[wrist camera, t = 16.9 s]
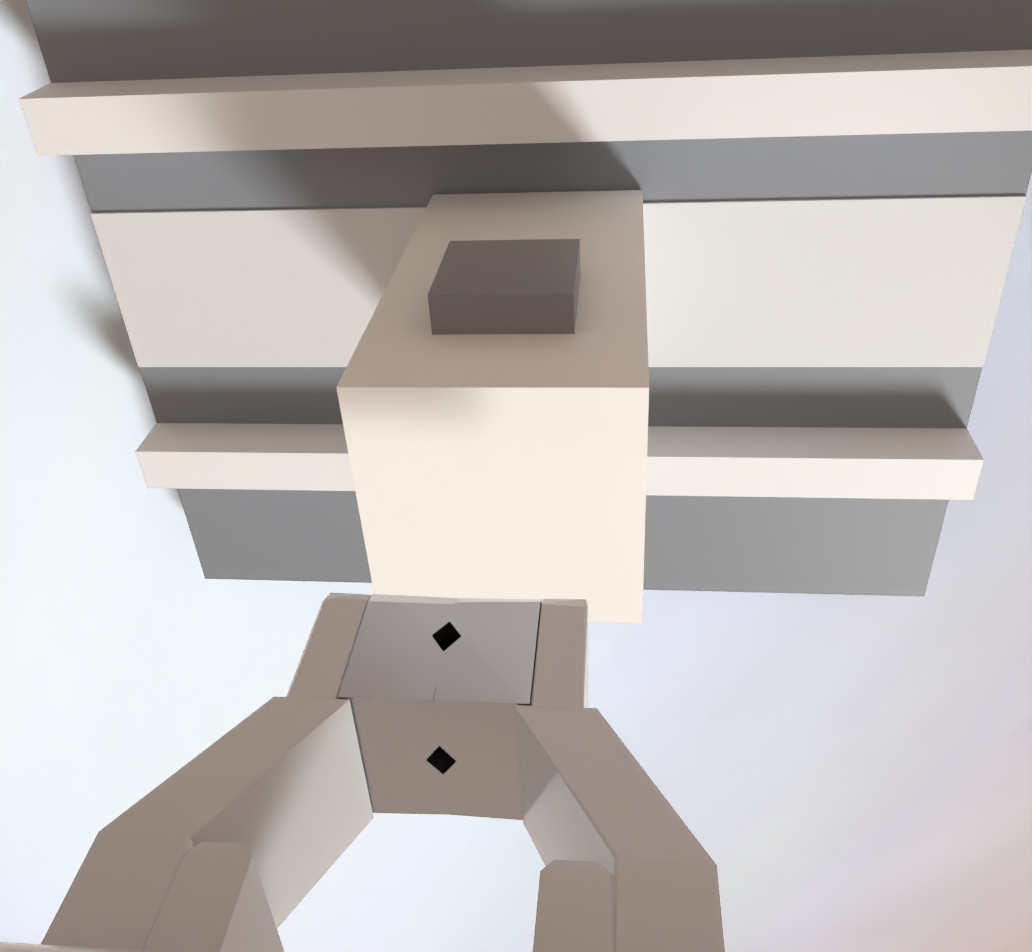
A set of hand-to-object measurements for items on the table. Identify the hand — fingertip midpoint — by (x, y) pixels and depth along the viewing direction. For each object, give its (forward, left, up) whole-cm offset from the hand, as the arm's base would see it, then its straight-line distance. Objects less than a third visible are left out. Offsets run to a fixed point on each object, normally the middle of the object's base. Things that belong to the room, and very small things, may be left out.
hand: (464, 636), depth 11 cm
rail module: (0, 0, -10) cm, 10 cm away
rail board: (0, 0, -12) cm, 12 cm away
